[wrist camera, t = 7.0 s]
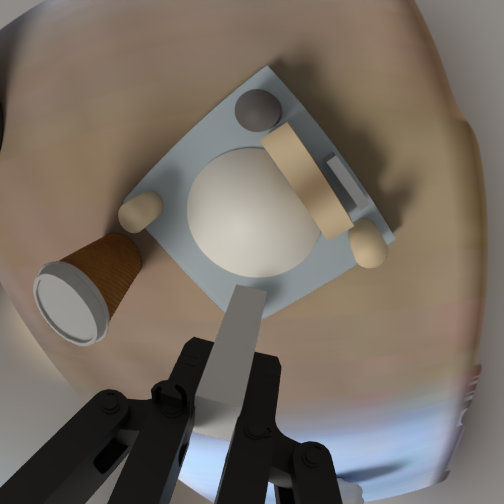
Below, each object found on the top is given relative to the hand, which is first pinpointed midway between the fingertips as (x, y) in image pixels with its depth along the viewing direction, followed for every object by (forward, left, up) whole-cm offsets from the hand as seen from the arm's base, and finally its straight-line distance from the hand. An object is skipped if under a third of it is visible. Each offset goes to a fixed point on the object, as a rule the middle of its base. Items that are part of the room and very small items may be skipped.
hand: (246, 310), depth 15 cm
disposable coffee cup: (-7, -19, -16) cm, 26 cm away
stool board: (-1, -2, -16) cm, 16 cm away
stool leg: (-3, +5, -14) cm, 15 cm away
